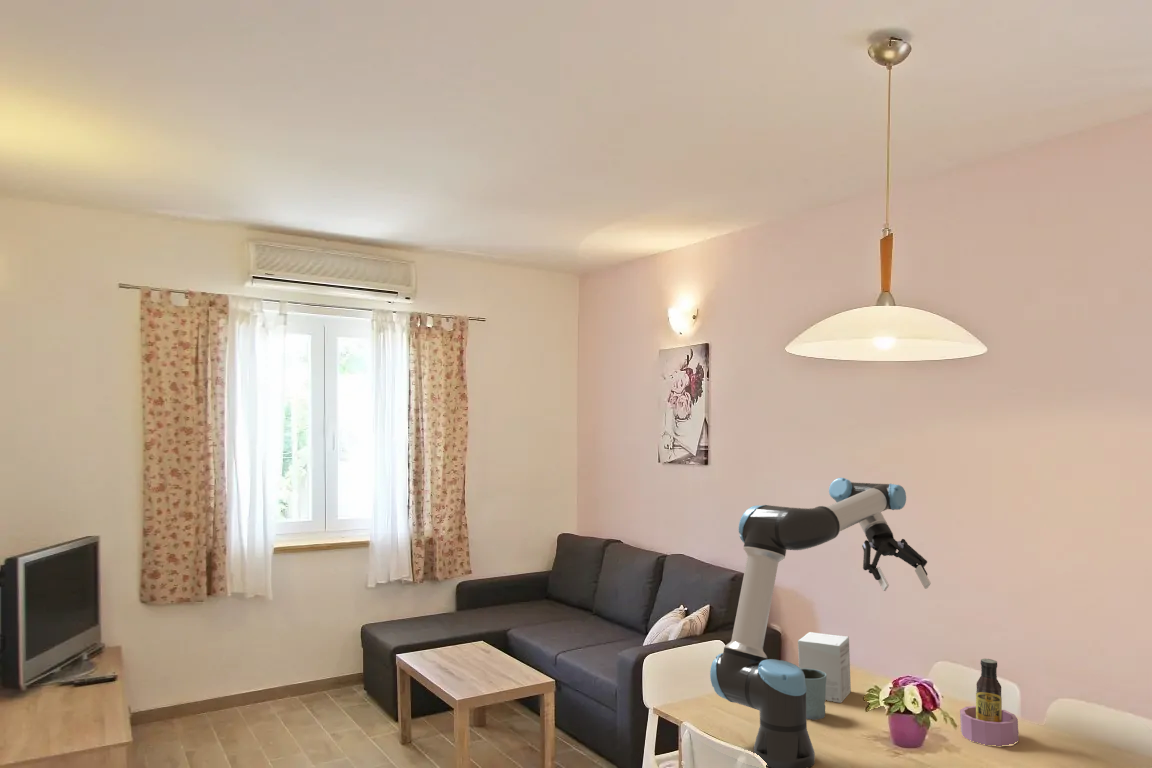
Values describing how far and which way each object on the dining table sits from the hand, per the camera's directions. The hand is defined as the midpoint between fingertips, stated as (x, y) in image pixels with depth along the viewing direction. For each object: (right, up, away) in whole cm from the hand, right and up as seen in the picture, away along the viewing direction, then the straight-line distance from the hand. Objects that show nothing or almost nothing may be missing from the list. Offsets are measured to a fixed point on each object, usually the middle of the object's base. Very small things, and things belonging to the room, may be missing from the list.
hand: (907, 587), depth 233 cm
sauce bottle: (+15, -36, -17) cm, 43 cm away
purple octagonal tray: (+15, -36, -17) cm, 43 cm away
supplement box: (-17, -39, +20) cm, 48 cm away
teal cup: (-28, -38, +2) cm, 47 cm away
